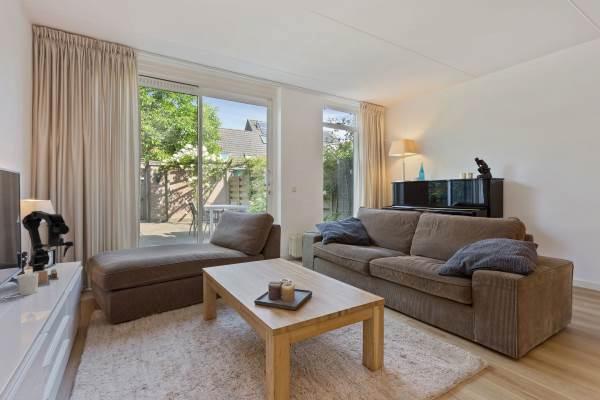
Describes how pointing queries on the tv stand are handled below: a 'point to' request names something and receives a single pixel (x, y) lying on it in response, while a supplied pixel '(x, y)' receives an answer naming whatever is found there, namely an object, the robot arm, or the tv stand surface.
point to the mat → (44, 284)
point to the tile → (42, 276)
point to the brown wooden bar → (54, 274)
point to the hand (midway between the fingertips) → (54, 258)
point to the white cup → (28, 283)
